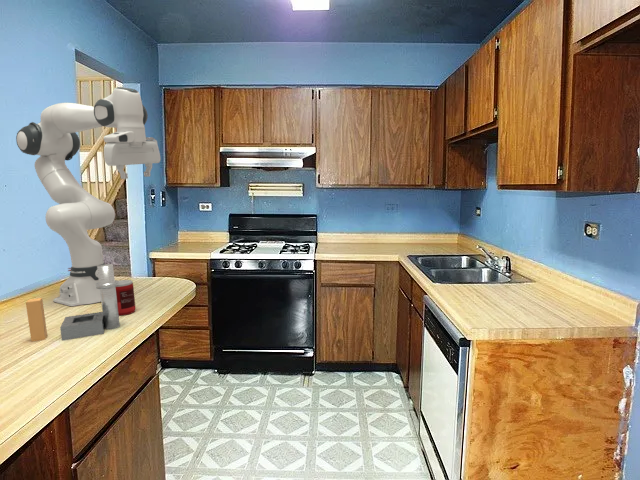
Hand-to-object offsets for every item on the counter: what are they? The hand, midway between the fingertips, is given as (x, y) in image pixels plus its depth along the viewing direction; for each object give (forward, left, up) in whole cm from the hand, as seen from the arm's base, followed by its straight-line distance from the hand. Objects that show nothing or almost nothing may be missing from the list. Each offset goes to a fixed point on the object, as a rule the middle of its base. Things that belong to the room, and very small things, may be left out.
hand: (136, 177), depth 148 cm
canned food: (-5, -7, -47) cm, 48 cm away
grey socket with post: (+1, -24, -47) cm, 53 cm away
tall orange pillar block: (-9, -35, -47) cm, 59 cm away
